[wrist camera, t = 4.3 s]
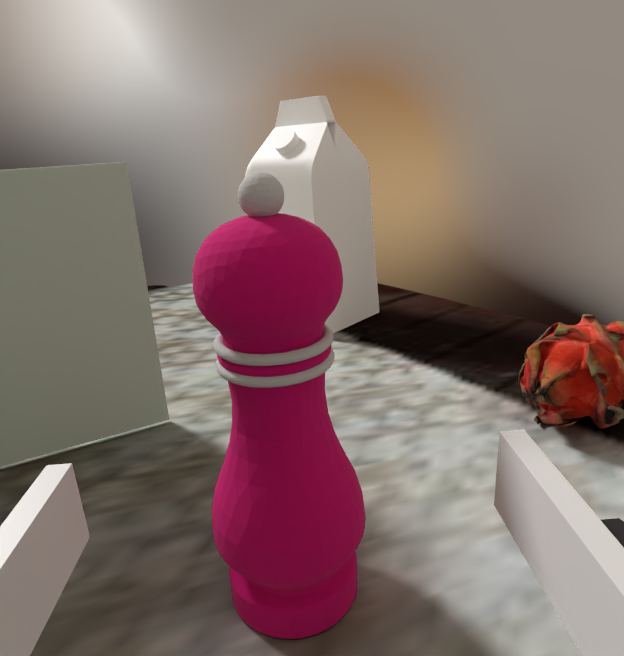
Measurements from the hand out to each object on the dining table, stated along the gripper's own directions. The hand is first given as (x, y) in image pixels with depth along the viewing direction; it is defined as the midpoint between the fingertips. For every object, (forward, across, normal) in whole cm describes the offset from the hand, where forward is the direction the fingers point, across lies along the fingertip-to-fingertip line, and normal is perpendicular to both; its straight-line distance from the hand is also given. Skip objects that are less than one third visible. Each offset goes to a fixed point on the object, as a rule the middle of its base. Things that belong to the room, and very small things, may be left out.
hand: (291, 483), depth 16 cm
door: (+21, -20, -11) cm, 31 cm away
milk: (+51, +3, -11) cm, 52 cm away
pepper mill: (+7, 0, -11) cm, 13 cm away
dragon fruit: (+21, +21, -11) cm, 32 cm away
